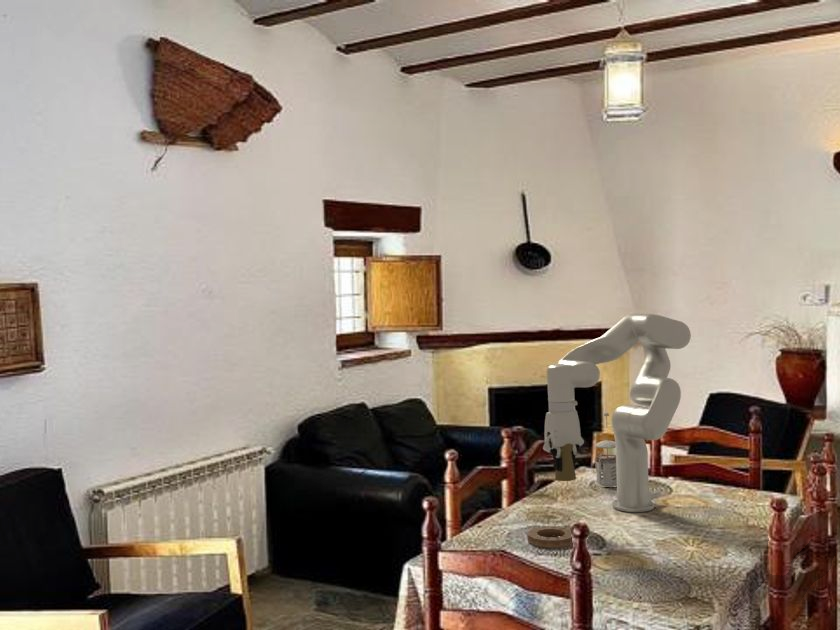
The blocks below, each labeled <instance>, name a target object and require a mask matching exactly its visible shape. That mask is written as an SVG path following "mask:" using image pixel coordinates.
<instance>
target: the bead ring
mask: <svg viewBox="0 0 840 630" xmlns="http://www.w3.org/2000/svg"><path fill="white" fill-rule="evenodd" d="M571 530H572V529H570V528H567V527H564V526H562V527H561V526H556V525H553V526H550V525H547V526H539V527H537V526H536V527H533V528H531V529H530V530H528V531H527V534H526V535H527V537H526V538H527V541H528V544H530V543H531V544H530V545H532V546H534V545H535V546H534V547H538V546H539V548H547V549H554V548H555V549H558V548H564V547H568V546H571V544H572V537H571ZM551 535H554V536H551ZM542 536H544V537H542ZM557 536H560V537H557ZM572 545H573V544H572Z"/></svg>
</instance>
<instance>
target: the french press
mask: <svg viewBox="0 0 840 630" xmlns="http://www.w3.org/2000/svg"><path fill="white" fill-rule="evenodd" d="M609 416H610V413H609V412H604V413H603V417H605V419H606V424H605V425H606V427H608V417H609ZM594 446H595V447H596V448H598V449H604V450H605V449H606V454H605V452H604V451H602V452H600V450H598V451H597V453H596V454H595V458H594V466H595V470H596V481H595V482H594V483H595V484H596V485H599V486H605V487H613V486H617V474H616V454H609V450H610V449H616V444H615V440H614V441H613V440H609V439H605V440H601V441H598V442H597V443H596V444H595V445H594ZM598 454H599V455H598Z"/></svg>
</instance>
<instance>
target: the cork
mask: <svg viewBox="0 0 840 630" xmlns="http://www.w3.org/2000/svg"><path fill="white" fill-rule="evenodd" d="M572 450H573V445H572V444H570V443H569V444H566V445H565V446H563V447H561V452H560V458H562V471H561V472H560V471H556V470H555V474H554V479H555V480H556V481H558V482H570V481H575V480H576V479H577V475H576V472H575V469H576V468H575V469H574V464H573V458H572V453H571V452H572Z"/></svg>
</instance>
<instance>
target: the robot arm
mask: <svg viewBox="0 0 840 630" xmlns="http://www.w3.org/2000/svg"><path fill="white" fill-rule="evenodd" d="M691 337H692V335H691V330H690V328H689V326H688V325H687V324H686V323H684V322H683V321H682V320H681V321H680V320H676V319H673V318H669V317H667V316H666V317H665V316H663V315H659V314H654V313H628V314H627V315H625V316H624V317H622V318H620V320H619V321H618V322H616V323H615V324H614V325H613V326H612V327H611V328H610V329H608V330H607V331H606V332H605V333H603V334H601V336H600V337H597V338H594V339H592V340H590V341H588V342H585V343H583V344H581V345H580V346H577V347H575V348H574V349H571V350H570V351H569V352H567V354H566V355H564V356H563V357H562V358H561V359H560V360H559V361H558V362H557V363H556V364H555V363H554V364H551V365H549V366H547V369H546V377H547V378H546V379H547V396H548V397H547V401H548V412H546V413H545V419H544V433H543V434H544V444H543V446H542V449H543V451H545V452H547V453H548V454H550V456H551V457H552V459H553V469H554V471H555V472H556V471H560V472H561V471H562V458H560V452H561V447H563V446H565V445H566V444H569V443H570V444H572V445H573V450H572V452H571V453H572V458H573V464H574V469H576V468H577V467H576V466H577V465H576V456H577V455H578V451H579V449H580V448H581V446H583V445H584V443H585V440H584V438H583V437H582V436H581V435H582V434H581V426H580V425H581V423H580V418H579V415H578V411H577V410H576V406H578V401H577V400H576V399H575V388H590V387H593V386H595V385H596V384H597V383H598V381H599V380H600V377H601V372H600V369H599V367H598V366H597V365H599V364H605V363H610V362H614V361H617V360H619V359H620V358H622V357H623V356H624V355H625V354H626V353H627V352H629V350H631V349H632V348H633V347H634V346H635V345H636V344H638V343H639V342H641V346H642V350H643V361H642V364H641V366H640V369H639V370H638V373H637V375H636V377H635V379H634V381H633V383H632V385H631V387H630V391H629V398H630V400H631V402H632V403H634V404H637V405H633V404H624V405H619V406H618V407H617V408H615V409H614V411H613V412H612V416H611V427H612V431H613V436H614V442H615V444H616V448H615V455H616V474H617V488H616V499H614V500H613V501H612V503H611V506H612V508H613V509H615V510H617V511H621V512H626V513H627V512H628V513H644V512H649V511H651V510H654V509H655V503H654V502H653V500H654V499H658V498H661V496H662V494H661V491H653V492H652V491H651V490H649V453H648V451H649V450H648V446H647V444H646V441H645V440H649V441H656V440H657V441H658V440H659V439H661V438H663V436H664V435H665V433H666V432H667V430H668V429H669V427H670V425H671V423H672V420H673V418H674V416H675V413H676V412H677V409H678V408H679V405H680V402H681V397H682V395H681V394H682V393H681V392H682V391H681V386H680V385H679V383H678V382H677V381H676V380H675V379H672V378H670V377H668V376H669V374H670V371H671V360H670V357H669V354H668V353H667V349H670V350H680V349H684V348H685V347H686V346H688V344H689V343H690V341H691Z"/></svg>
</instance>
